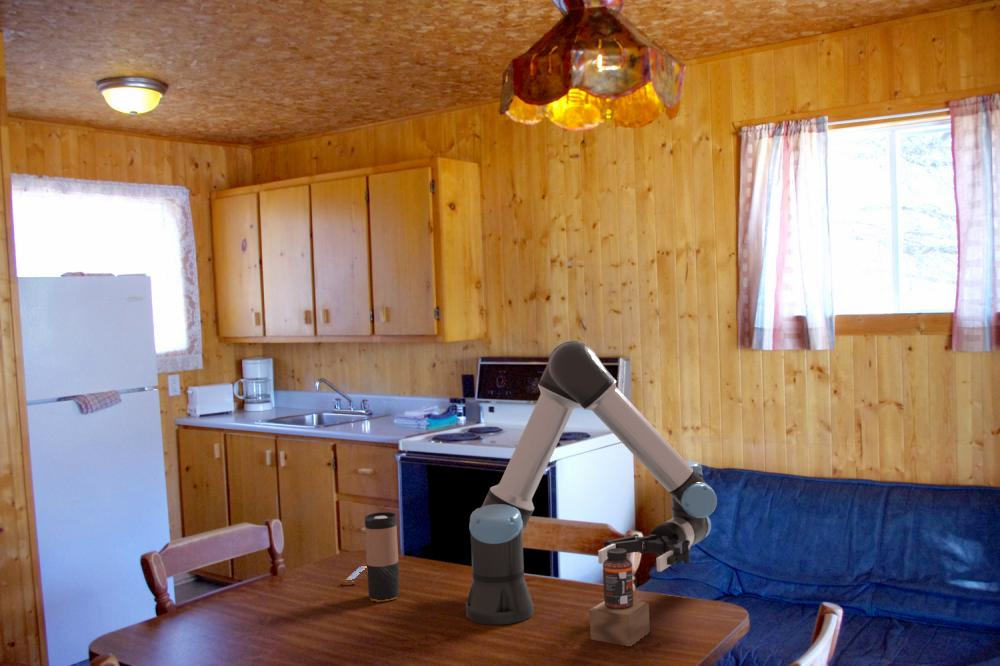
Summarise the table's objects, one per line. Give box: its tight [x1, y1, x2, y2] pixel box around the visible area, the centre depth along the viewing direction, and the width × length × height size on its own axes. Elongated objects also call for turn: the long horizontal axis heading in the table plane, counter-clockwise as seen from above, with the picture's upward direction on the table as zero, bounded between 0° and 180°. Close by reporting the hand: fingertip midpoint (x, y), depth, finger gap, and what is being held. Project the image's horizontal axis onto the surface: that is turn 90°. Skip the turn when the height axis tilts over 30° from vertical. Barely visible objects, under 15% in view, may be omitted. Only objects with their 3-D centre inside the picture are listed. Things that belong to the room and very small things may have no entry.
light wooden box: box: [588, 600, 651, 647], centre depth 179 cm, size 9×9×6 cm
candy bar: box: [341, 565, 367, 582], centre depth 231 cm, size 17×4×2 cm, turn 170°
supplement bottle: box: [602, 548, 634, 609], centre depth 179 cm, size 6×6×11 cm
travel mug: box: [364, 511, 400, 600], centre depth 212 cm, size 8×8×20 cm
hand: (628, 561), depth 183 cm, fingers open, 13 cm apart
